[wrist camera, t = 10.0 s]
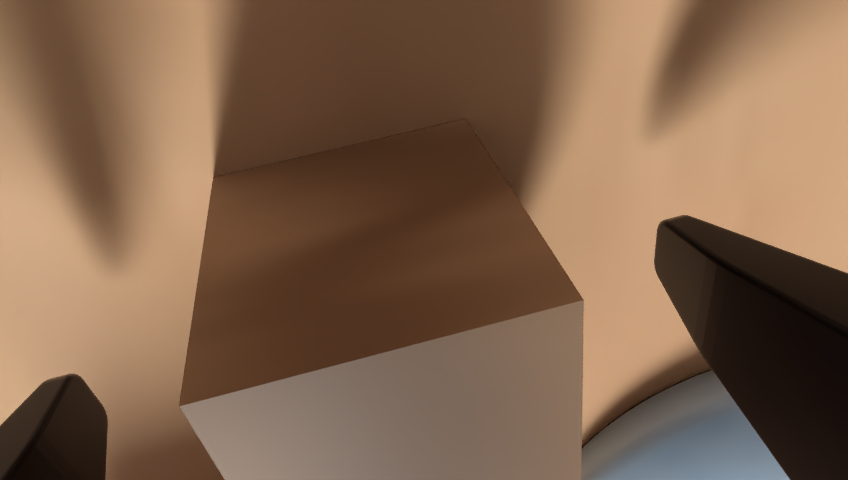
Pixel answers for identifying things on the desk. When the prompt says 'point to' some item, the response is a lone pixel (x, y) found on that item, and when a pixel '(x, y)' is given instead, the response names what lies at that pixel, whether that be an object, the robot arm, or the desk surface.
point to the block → (383, 321)
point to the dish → (681, 439)
